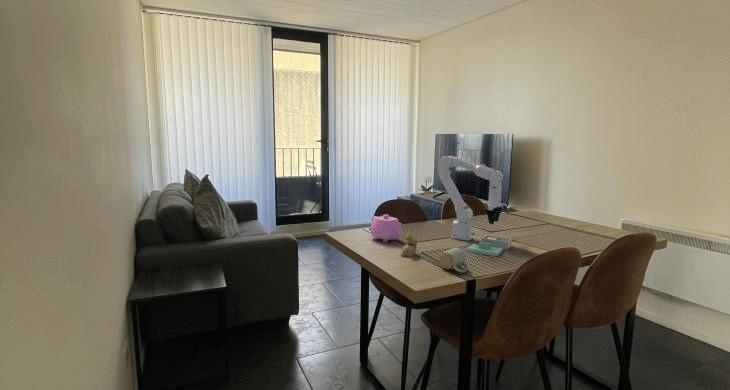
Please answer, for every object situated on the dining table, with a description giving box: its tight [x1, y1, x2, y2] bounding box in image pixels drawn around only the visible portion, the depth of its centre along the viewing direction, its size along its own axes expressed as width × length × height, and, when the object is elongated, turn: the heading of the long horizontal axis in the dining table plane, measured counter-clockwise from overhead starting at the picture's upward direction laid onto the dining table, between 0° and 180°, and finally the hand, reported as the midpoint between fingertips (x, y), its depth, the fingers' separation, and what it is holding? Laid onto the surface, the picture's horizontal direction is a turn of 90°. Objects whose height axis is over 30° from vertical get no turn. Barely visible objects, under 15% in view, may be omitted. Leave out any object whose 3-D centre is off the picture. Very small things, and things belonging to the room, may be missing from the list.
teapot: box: [370, 213, 403, 243], centre depth 196 cm, size 20×12×13 cm, turn 43°
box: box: [481, 234, 513, 251], centre depth 189 cm, size 12×8×4 cm, turn 57°
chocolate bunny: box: [400, 232, 418, 257], centre depth 172 cm, size 6×8×10 cm
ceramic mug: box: [439, 247, 468, 273], centre depth 154 cm, size 11×8×8 cm
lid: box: [466, 241, 504, 257], centre depth 180 cm, size 14×10×4 cm
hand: (493, 222), depth 195 cm, fingers open, 7 cm apart
